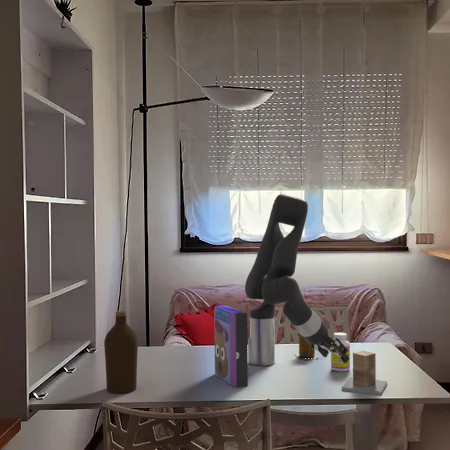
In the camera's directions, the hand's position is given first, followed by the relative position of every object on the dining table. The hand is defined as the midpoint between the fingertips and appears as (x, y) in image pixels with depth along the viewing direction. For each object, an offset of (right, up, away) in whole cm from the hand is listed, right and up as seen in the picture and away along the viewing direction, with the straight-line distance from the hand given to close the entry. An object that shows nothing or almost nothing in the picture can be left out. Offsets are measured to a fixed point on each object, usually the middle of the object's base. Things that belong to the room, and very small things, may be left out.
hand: (336, 357), depth 177 cm
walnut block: (+10, -10, +6) cm, 15 cm away
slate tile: (+10, -11, +6) cm, 16 cm away
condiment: (-2, -11, +46) cm, 47 cm away
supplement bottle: (+7, -11, +27) cm, 30 cm away
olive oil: (-68, -12, +6) cm, 69 cm away
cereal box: (-33, -11, +16) cm, 38 cm away
